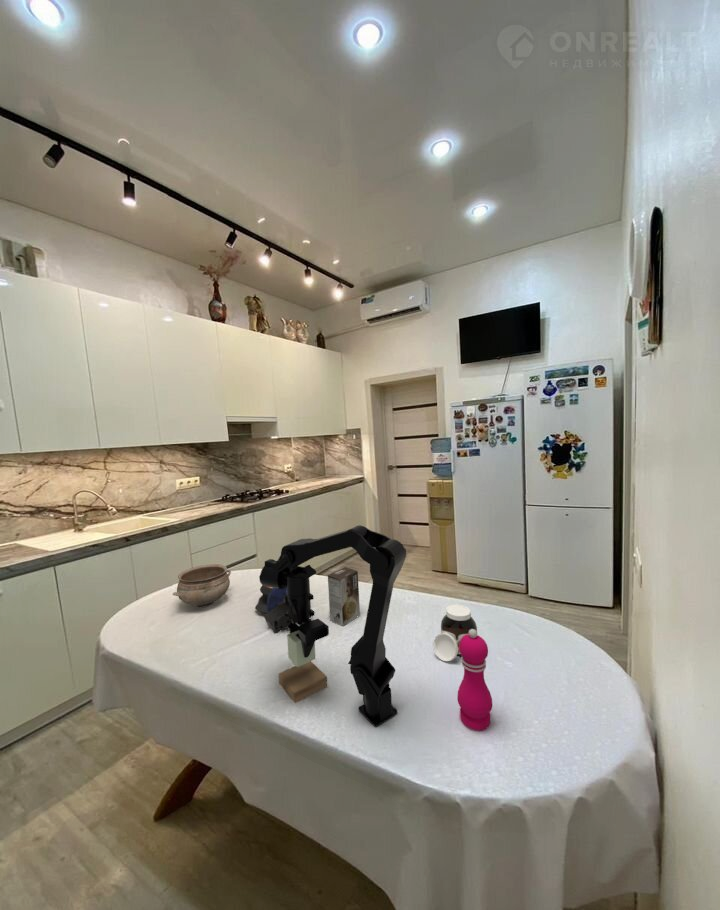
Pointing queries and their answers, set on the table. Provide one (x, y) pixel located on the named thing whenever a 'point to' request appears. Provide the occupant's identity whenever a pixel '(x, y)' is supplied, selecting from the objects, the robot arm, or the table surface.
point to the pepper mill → (474, 683)
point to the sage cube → (298, 650)
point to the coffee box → (343, 596)
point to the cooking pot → (203, 584)
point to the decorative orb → (275, 597)
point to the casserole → (263, 599)
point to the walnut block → (302, 681)
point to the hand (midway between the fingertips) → (301, 652)
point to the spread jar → (453, 632)
